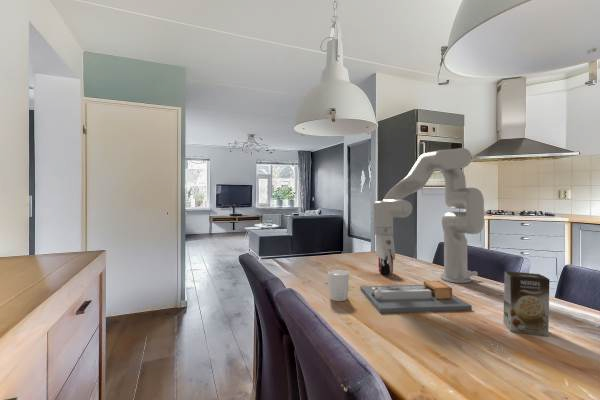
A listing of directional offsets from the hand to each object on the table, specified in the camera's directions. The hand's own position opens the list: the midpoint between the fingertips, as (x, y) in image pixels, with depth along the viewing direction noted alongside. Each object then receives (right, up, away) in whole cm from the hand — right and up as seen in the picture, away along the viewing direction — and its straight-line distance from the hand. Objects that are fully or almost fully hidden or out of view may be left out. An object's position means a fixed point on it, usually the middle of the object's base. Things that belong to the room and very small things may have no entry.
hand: (385, 274), depth 120 cm
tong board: (+7, -7, -10) cm, 14 cm away
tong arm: (+2, -5, -9) cm, 11 cm away
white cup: (-21, -7, -9) cm, 23 cm away
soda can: (+8, -6, +27) cm, 29 cm away
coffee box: (+30, -7, -35) cm, 47 cm away
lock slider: (+17, -5, -10) cm, 20 cm away
